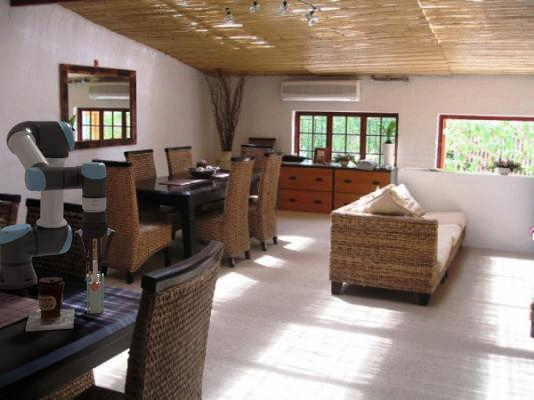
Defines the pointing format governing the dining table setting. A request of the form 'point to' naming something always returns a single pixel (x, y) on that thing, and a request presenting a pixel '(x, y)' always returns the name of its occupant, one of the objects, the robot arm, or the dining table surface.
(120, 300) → the dining table surface
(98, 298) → the press column
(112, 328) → the dining table surface
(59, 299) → the coffee cup
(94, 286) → the lever
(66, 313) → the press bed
